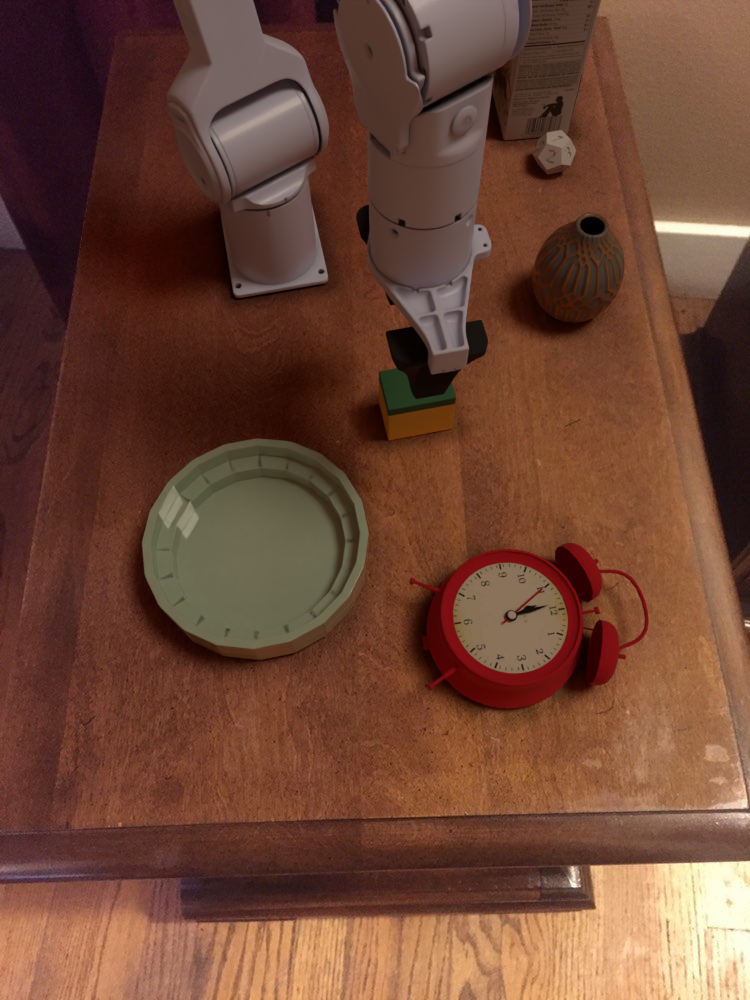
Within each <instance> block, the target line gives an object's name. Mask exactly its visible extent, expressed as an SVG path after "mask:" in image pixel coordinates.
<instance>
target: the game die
mask: <svg viewBox="0 0 750 1000" xmlns="http://www.w3.org/2000/svg"><path fill="white" fill-rule="evenodd" d="M536 141H537V142H536V145H535V146H534V150H533V153H532V156H533V158H534V160H535V161H536V163H537V165H538V166H539V167H540V169H541V170H542V171H543V172H544V173H545V174H546V175H553V174H558V173H563V172H564V171H566V170H567V169H568V168H570V167H571V166H572V163H573V161H574V157H575V156H576V152H577V149H576V147H575V145H574V143H573V141H572V139H571V138H570V137H569V136H568V134H567V135H566V134H565V133H564V132H563V131H562V130H558V131H553V132H547V133H546V134H544V135H543V136H542V137H538V138H537V140H536Z"/></svg>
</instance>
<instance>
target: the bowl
mask: <svg viewBox="0 0 750 1000" xmlns="http://www.w3.org/2000/svg"><path fill="white" fill-rule="evenodd" d="M370 547H371V546H370V532H369V527H368V522H367V518H366V513H365V509H364V503H363V500H362V498H361V497H360V495H359V494H358V492H357V490H356V488H355V487H354V486H353V484H352V482H351V481H350V479H349V477H348V476H347V474H346V473H345V472H344V471H343V470H342V469H340V468H339V467H338V466H337V465H335V464H334V463H333V462H332V461H331V460H329V458H327V457H326V456H325V455H323V454H322V453H321V452H319V451H316V450H314V449H311V448H308V447H306V446H303V445H301V444H299V443H296V442H294V441H291V440H290V441H289V440H281V439H280V440H278V439H270V438H259V437H258V438H256V437H255V438H251V439H246V440H240V441H234V442H229V443H224V444H222V445H219V446H217V447H215V448H213V449H211V450H209V451H207V452H206V453H203V454H200V455H199V456H197V457H195V458H193V459H192V460H191V461H190V462H188V464H186V465H185V466H183V468H181V470H179V471H178V472H177V473H176V474H175V475H174V476H173V477H171V478H170V479H169V480H168V481H167V482H166V484H165V486H164V487H163V488H162V490H161V492H160V494H159V495H158V497H157V498H156V500H155V502H154V503H153V505H152V507H151V508H150V510H149V511H148V516H147V520H146V523H145V528H144V531H143V536H142V540H141V550H142V561H143V573H144V578H145V580H146V582H147V584H148V586H149V588H150V591H151V593H152V595H153V597H154V599H155V601H156V603H157V605H158V607H159V608H160V609H161V610H162V612H163V613H164V614H165V615H166V616H167V617H168V619H169V620H170V621H171V622H172V623H173V624H174V625H175V626H176V627H177V628H178V629H179V630H180V631H182V633H183V634H185V635H186V637H188V639H189V640H190V641H191V642H193V643H195V644H197V645H199V646H202V647H204V648H206V649H207V650H209V651H212V652H214V653H216V654H218V655H220V656H224V657H228V658H229V657H230V658H240V659H246V660H247V659H248V660H258V661H259V660H260V661H262V660H267V659H271V658H276V657H281V656H286V655H290V654H295V653H297V652H299V651H301V650H303V649H304V648H306V647H308V646H311V645H312V644H313V643H315V642H318V641H319V640H321V639H323V638H325V637H326V636H327V635H328V634H330V633H331V631H332V630H334V629H335V628H336V627H337V625H338V624H339V623H340V622H341V621H342V620H343V619H344V618H345V617H346V616H347V615H348V614H349V613H350V612H351V610H352V609H353V606H354V605H355V603H356V600H357V599H358V596H359V594H360V592H361V590H362V588H363V586H364V584H365V582H366V579H367V572H368V566H369V556H370V549H371V548H370Z"/></svg>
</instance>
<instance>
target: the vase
mask: <svg viewBox="0 0 750 1000" xmlns="http://www.w3.org/2000/svg"><path fill="white" fill-rule="evenodd" d="M625 264H626V263H625V255H624V250H623V248H622V244H621V243H620V240H619V239H618V237H617V236H616V234H615V233H614V232H613V231H612V229H611V228H610V224H609V221H608V220H607V219H606V218H605V216H603V215H602V214H600V213H596V212H587V213H583V214H581V215H579V217H578V218H577V219H575V220H574V221H571V222H568V223H565V224H564V225H562V226H560V227H558V228H556V230H554V231H553V232H552V233H551V234H550V235H549V236H548V237H547V238H546V239H545V241H544V242H543V244H542V245H541V247H540V248H539V250H538V252H537V255H536V257H535V261H534V264H533V269H532V289H533V293H534V295H535V299H537V302H538V304H539V306H540V307H541V308H542V310H543V311H545V312H546V313H547V314H548V315H549V316H551V317H553V318H554V319H556V320H559V321H560V322H566V323H581V322H586V321H589V320H591V319H594V318H596V317H597V316H599V315H600V314H602V313H603V312H604V311H605V310H606V309H607V308H608V307H609V306H610V305H611V304H612V302H613V301H614V300H615V298H616V296H617V295H618V293H619V290H620V289H621V286H622V283H623V280H624V275H625Z"/></svg>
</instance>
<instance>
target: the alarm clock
mask: <svg viewBox="0 0 750 1000" xmlns="http://www.w3.org/2000/svg"><path fill="white" fill-rule="evenodd" d="M554 559H555V563H556V566H555V565H554V564H553V563H552V562H550V561H549V560H547V559H545V558H544V557H542V556H540V555H537V554H535V553H532V552H529V551H526V550H522V549H515V548H498V549H492V550H487V551H485V552H482V553H478V554H476V555H475V556H473V557H471V558H469V559H468V560H466V561H465V562H463V563H462V564H461V565H459V566H458V567H457V568H456V569H455V570H454V571H453V572H452V573H451V574H450V575H448V577H446V579H445V580H444V581H443V582H442V583H441V584H440V585H439V587H436V586H433V585H430V584H426V583H424V582H420V581H417V580H416V578H414V577H411V578H410V579H409V582H408V583H409V584H410V585H417V586H419V587H422V588H423V589H426V590H428V591H431V592H433V593H435V594H434V596H433V598H432V600H431V603H430V606H429V609H428V614H427V619H426V635H425V636H424V635H423V636H422V638H421V639H422V644H423V650H424V651H430V655H431V656H432V659H433V662H434V663H435V665H436V668H437V669H438V670H439V672H440V674H441V676H440V677H438V678H437V679H436V680H434V681H433V682H429V683H427V689H428V690H430V691H433V690H435V686H437V685H438V684H440V683H441V682H442V681H444V680H446V681H447V682H448V683H449V684H450V685H451V686H452V687H453V688H454V689H455V690H456V691H457V692H459V693H461V694H462V695H463V696H464V697H466V698H469V699H470V700H472V701H474V702H475V703H479V704H482V705H483V706H487V707H491V708H496V709H497V708H498V709H520V708H526V707H531V706H533V705H537V704H539V703H540V702H542V701H545V700H546V699H548V698H550V697H551V696H554V694H556V693H557V692H558V691H559V690H560V689H561V688H563V686H564V685H565V684H566V683H567V681H568V680H569V679H570V677H571V676H572V674H573V673H574V671H575V669H576V668H577V664H578V662H579V659H580V656H581V652H582V647H583V646H582V645H583V631H584V630H588V631H591V635H590V638H589V644H588V649H587V657H586V681H587V683H588V684H589V685H591V686H602V685H606V684H607V683H608V682H609V681H610V680H611V679H612V678H613V676H614V674H615V672H616V669H617V666H618V662H619V660H620V659H621V660H626V659H627V655H626V654H622V653H620V652H621V650H623V649H626V648H630V647H632V646H634V645H635V644H637V643H639V642H641V640H642V639H644V638H645V636H646V633H647V632H648V629H649V622H650V620H649V611H648V607H647V602H646V599H645V597H644V594H643V592H642V590H641V588H640V586H639V584H638V583H637V581H636V580H635V579H634V578H633V577H632V576H631V575H630V574H628V573H627V572H625V571H621V570H619V569H600V568H599V566H598V564H599V559H598V558H595V559H594V558H593V557H592V555H591V554H590V553H589V552H588V551H587V550H586V549H585V548H584V547H583V546H581V545H580V544H578V543H575V542H566V543H563V544H561V545H558V546H557V547H556V549H555V550H554ZM602 574H614V575H615V574H616V575H619V576H622V577H624V578H625V579H627V580H628V581H629V582H630V583H631V584H632V586H633V587H634V588H635V590H636V592H637V594H638V598H639V599H640V602H641V606H642V609H643V617H644V626H643V629H642V630H641V633H640V634H639V635H638V636H637V637H636V638H634V639H633V640H631V641H629V642H626V643H623V644H621V645H620V636H619V633H618V629H617V628H616V626H615V625H614V624H613V623H612V622H610V621H609V620H608V621H607V620H605V619H597V621H596V622H595V624H594V626H593V628H591V627H586V626H584V615H585V614H586V615H587V614H593V613H594V614H595V615H600V614H601V611H600V607H599V606H597V605H596V606H594V607H593V609H588V610H583V609H582V605H581V602H585V603H590V602H592V601H594V600H595V599H596V598H597V597H598V596H600V594H601V592H602V590H603V576H602ZM580 600H581V602H580Z"/></svg>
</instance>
